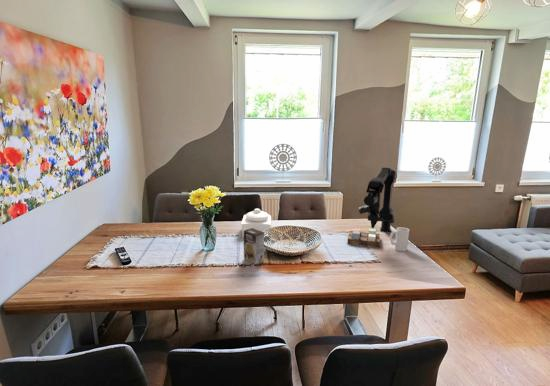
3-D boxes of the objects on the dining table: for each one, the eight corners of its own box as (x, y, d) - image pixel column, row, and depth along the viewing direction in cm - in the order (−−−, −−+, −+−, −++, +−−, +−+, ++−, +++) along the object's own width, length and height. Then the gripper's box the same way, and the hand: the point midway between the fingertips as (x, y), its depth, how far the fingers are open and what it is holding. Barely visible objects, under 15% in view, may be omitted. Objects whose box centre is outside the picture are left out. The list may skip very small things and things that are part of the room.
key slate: (352, 237, 197) (353, 230, 196) (359, 237, 196) (359, 231, 195) (352, 239, 194) (352, 233, 193) (359, 240, 192) (359, 233, 191)
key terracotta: (353, 234, 204) (353, 228, 203) (359, 235, 203) (360, 229, 202) (352, 236, 200) (353, 230, 199) (359, 237, 199) (360, 231, 198)
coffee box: (243, 259, 173) (242, 230, 169) (252, 255, 178) (252, 227, 174) (255, 264, 167) (255, 235, 163) (264, 260, 172) (264, 231, 168)
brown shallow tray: (349, 235, 206) (349, 230, 206) (379, 238, 201) (379, 234, 201) (347, 243, 193) (347, 239, 193) (379, 247, 188) (379, 242, 188)
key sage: (368, 234, 201) (368, 228, 200) (375, 235, 200) (375, 229, 199) (368, 236, 198) (368, 230, 197) (375, 237, 196) (375, 231, 195)
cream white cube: (368, 240, 195) (368, 233, 194) (375, 241, 194) (375, 234, 193) (367, 242, 191) (368, 236, 190) (375, 243, 190) (375, 237, 189)
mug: (404, 246, 190) (406, 227, 187) (409, 251, 183) (411, 231, 180) (387, 246, 190) (388, 226, 187) (390, 251, 183) (392, 231, 181)
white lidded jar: (270, 237, 203) (270, 213, 199) (241, 237, 204) (240, 212, 200) (271, 227, 220) (271, 204, 216) (244, 227, 221) (244, 204, 217)
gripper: (360, 196, 197) (359, 221, 201) (359, 205, 180) (357, 232, 184) (380, 198, 194) (378, 223, 198) (380, 206, 177) (378, 234, 181)
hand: (372, 228), depth 190 cm, fingers closed
